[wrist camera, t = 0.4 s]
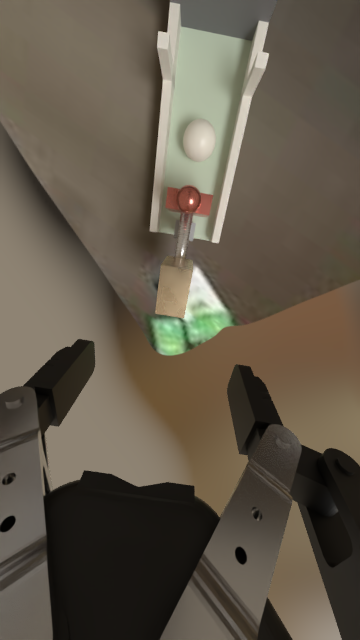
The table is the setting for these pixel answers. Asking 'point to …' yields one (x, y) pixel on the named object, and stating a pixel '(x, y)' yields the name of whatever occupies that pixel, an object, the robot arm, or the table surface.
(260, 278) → the table surface
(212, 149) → the ball
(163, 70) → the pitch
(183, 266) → the striker
